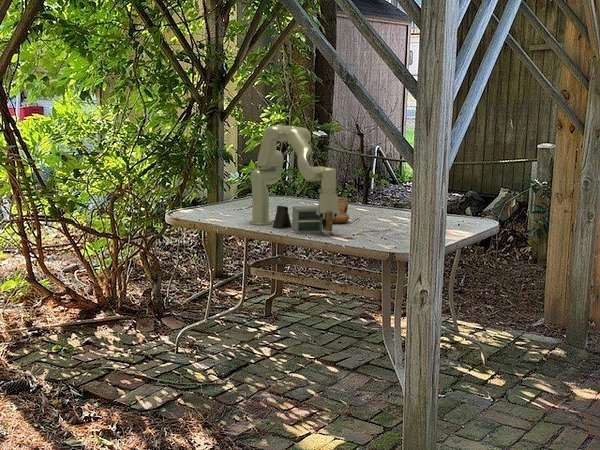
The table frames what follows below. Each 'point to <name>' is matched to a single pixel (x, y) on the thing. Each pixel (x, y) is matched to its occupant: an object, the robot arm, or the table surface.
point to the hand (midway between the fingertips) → (327, 225)
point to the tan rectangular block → (328, 221)
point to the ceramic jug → (342, 211)
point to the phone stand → (282, 218)
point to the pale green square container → (306, 220)
